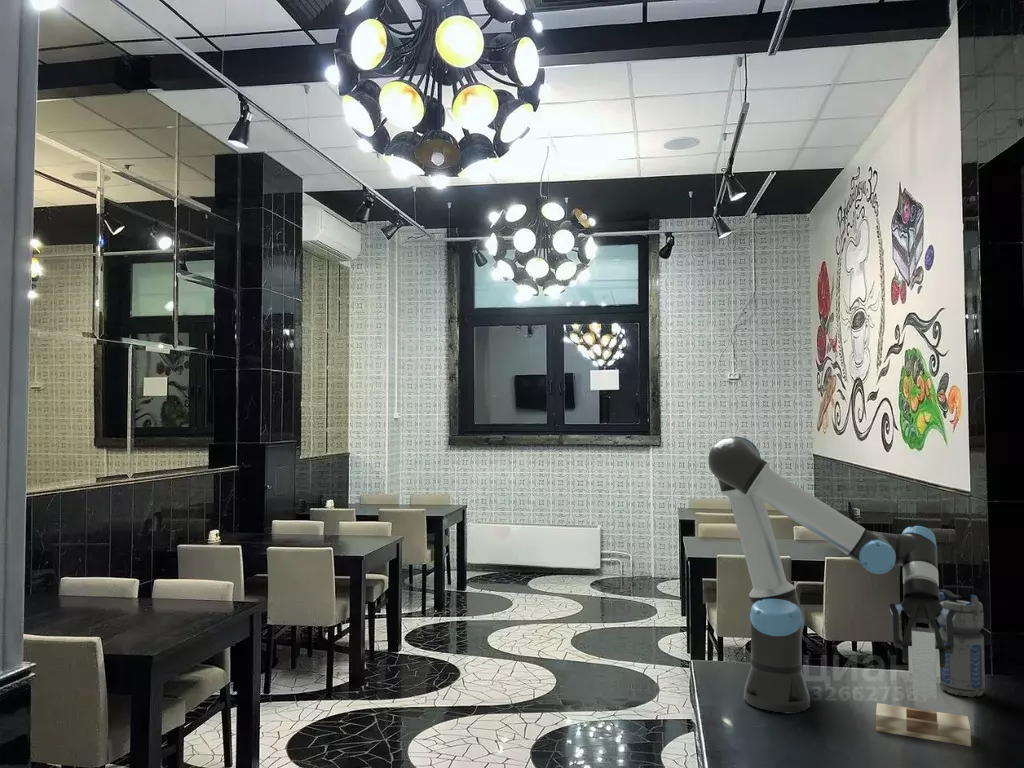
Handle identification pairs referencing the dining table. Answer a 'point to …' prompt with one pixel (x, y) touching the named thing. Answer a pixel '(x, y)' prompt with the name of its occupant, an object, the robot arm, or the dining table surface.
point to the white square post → (924, 662)
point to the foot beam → (923, 724)
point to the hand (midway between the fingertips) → (924, 677)
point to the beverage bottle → (963, 647)
